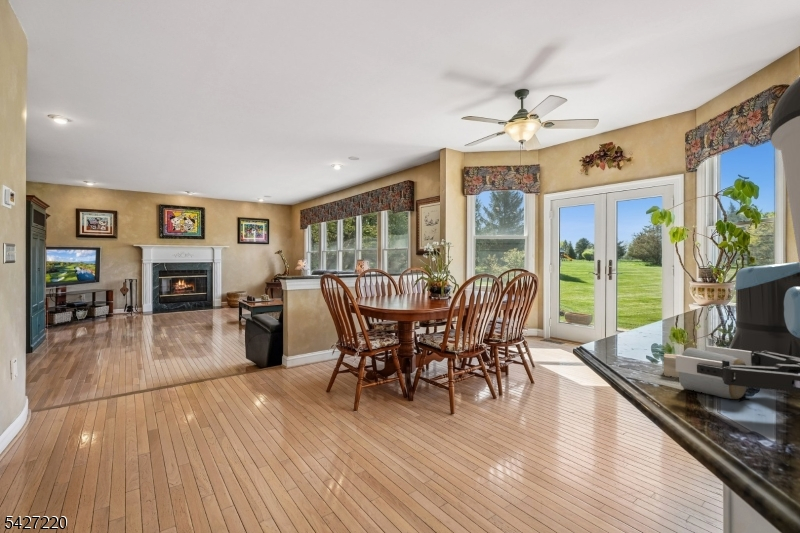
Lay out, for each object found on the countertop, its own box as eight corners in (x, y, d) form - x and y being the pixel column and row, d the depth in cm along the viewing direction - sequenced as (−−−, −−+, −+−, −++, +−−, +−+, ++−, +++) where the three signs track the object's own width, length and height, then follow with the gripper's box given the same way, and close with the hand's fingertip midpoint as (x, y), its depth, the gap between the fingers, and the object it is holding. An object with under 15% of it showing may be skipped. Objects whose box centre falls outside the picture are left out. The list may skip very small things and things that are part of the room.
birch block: (664, 371, 81) (664, 353, 81) (688, 374, 79) (687, 355, 79) (663, 376, 78) (663, 356, 78) (688, 379, 76) (687, 359, 76)
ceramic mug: (735, 405, 61) (734, 358, 61) (677, 391, 68) (676, 349, 68) (757, 394, 67) (756, 351, 67) (701, 382, 74) (701, 343, 74)
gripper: (865, 437, 44) (662, 390, 62) (890, 397, 58) (717, 367, 76) (864, 374, 44) (661, 345, 62) (889, 348, 58) (717, 330, 76)
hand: (692, 357), depth 69 cm, fingers open, 13 cm apart
